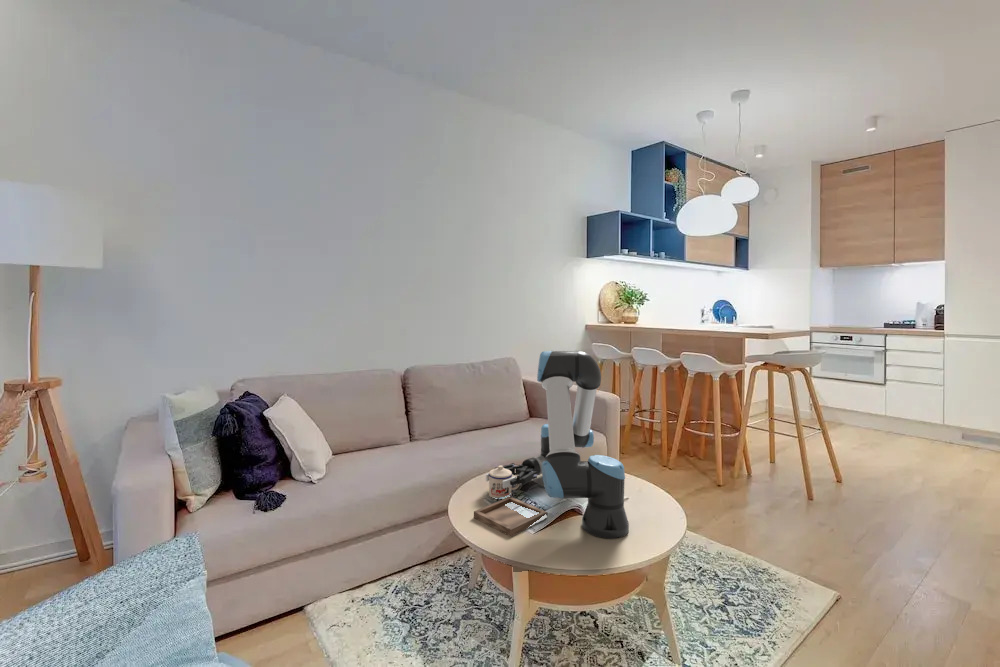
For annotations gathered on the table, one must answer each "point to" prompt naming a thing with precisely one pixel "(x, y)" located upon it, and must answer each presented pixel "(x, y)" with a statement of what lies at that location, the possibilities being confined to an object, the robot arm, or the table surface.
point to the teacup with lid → (499, 482)
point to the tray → (507, 516)
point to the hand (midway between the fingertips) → (494, 481)
